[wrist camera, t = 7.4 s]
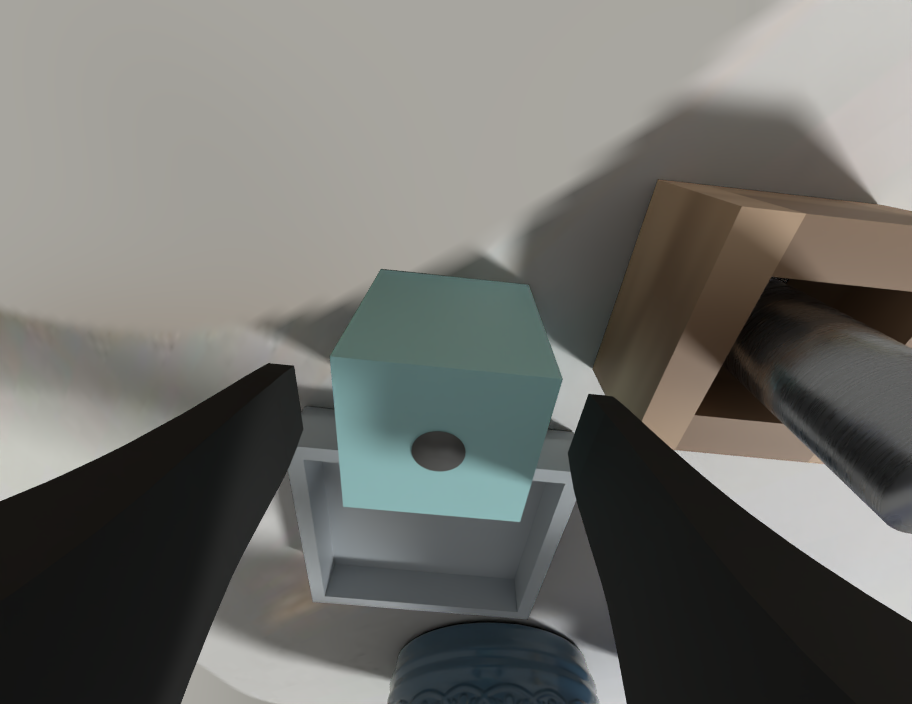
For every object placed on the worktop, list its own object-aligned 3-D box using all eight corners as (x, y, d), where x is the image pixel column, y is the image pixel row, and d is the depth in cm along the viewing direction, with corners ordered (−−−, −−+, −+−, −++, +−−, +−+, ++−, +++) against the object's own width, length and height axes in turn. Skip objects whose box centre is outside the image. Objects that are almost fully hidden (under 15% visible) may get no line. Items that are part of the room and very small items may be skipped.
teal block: (504, 399, 14) (520, 523, 10) (381, 387, 14) (342, 508, 10) (528, 283, 12) (563, 380, 7) (380, 268, 12) (328, 357, 7)
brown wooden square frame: (762, 386, 13) (851, 466, 10) (592, 368, 13) (630, 445, 10) (879, 204, 10) (1058, 242, 7) (657, 179, 10) (741, 206, 7)
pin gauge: (725, 339, 12) (967, 545, 6) (658, 322, 12) (843, 520, 6) (776, 270, 11) (1131, 445, 5) (702, 249, 11) (986, 407, 5)
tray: (522, 576, 20) (527, 619, 18) (326, 559, 20) (312, 601, 18) (573, 432, 15) (587, 473, 13) (305, 406, 14) (283, 445, 13)
